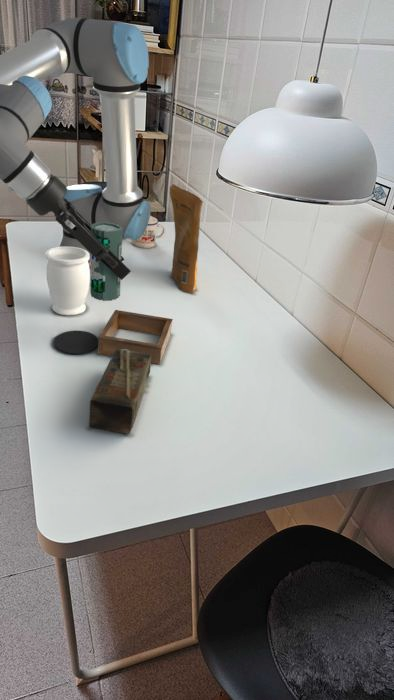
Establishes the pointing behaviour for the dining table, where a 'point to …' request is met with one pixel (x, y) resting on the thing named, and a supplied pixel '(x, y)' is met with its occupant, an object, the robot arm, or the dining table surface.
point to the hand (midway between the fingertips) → (122, 268)
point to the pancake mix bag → (185, 237)
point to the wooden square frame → (135, 323)
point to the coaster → (76, 342)
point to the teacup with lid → (149, 234)
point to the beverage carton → (120, 391)
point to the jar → (68, 279)
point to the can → (101, 276)
